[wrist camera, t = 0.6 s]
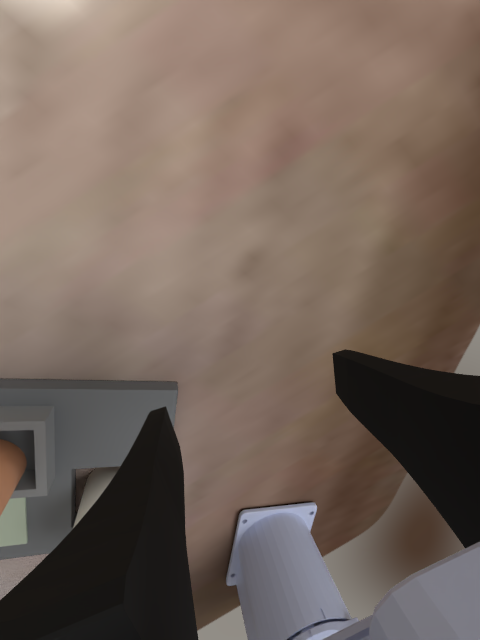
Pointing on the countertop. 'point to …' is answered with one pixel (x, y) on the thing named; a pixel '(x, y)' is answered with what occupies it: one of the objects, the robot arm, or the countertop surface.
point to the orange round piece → (10, 470)
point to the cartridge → (94, 488)
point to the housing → (66, 447)
